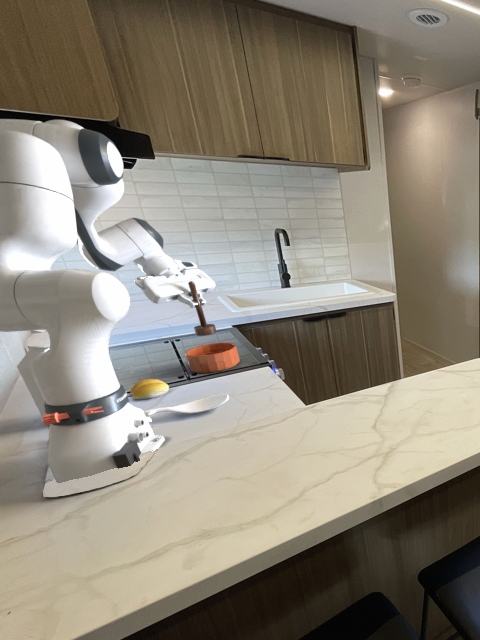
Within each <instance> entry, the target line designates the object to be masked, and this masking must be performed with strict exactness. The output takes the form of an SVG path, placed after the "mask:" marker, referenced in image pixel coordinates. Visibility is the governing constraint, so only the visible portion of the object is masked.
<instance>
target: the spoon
mask: <svg viewBox="0 0 480 640" xmlns="http://www.w3.org/2000/svg"><path fill="white" fill-rule="evenodd" d="M229 399H230V396H229V395H228V393H218V394H217V393H216V394H213V395H209V396H205V397H202V398H199V399H196V400H191V401H189V402H185V403H181V404H178V405H174V406H167V407H157V408H149V409H146V410H142V411H143V413H144V415H145V417H146V416H147V417H148V416H152V415H154V414H157V413H177V414H191V415H192V414H199V413H200V414H201V413H205V412H208V411H212V410H214V409H216V408H219V407H220V406H222V405H224V404H225V403H227V402H228V400H229Z"/></svg>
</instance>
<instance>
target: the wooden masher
mask: <svg viewBox="0 0 480 640" xmlns="http://www.w3.org/2000/svg"><path fill="white" fill-rule="evenodd" d="M188 285H189V288H190V291H191V294H192V300H194V301H196V302H197V303H198V305H197V307H195V311H196V314H197V317H198V321H199V324H200V325H195V326H194V327H193V330H194V333H195V335H196V336H197V337H206V336H212V335H214V334H216V333H218V331H217V329H216V325H215V324H214V323H207V321H206V317H205V314H204V311H203V306H201V303H200V300H199V296H198V293H197V290H196V286H195V283H194V282H192V281H190V282H189V283H188Z"/></svg>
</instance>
